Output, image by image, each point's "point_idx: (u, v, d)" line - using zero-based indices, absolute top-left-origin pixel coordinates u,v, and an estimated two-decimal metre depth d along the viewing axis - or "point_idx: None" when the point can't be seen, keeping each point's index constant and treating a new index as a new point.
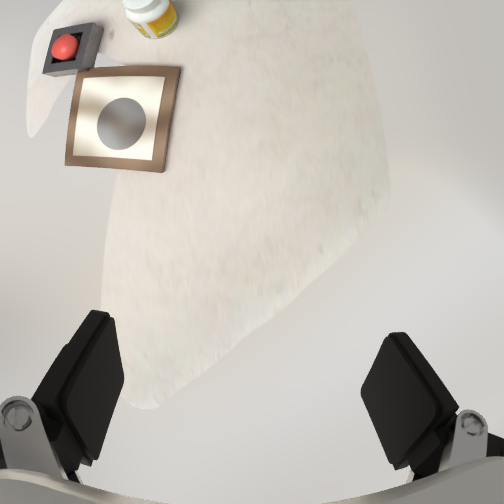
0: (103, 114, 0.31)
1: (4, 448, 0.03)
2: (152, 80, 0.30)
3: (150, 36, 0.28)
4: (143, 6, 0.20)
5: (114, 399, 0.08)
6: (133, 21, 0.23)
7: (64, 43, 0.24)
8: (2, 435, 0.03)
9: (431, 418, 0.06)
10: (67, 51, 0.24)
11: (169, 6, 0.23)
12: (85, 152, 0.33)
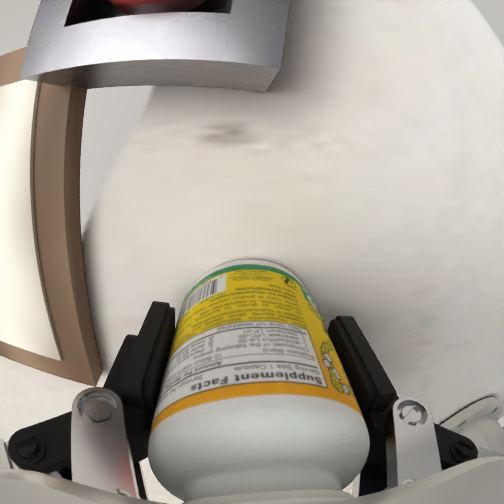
0: None
1: (73, 435, 0.04)
2: (47, 329, 0.10)
3: None
4: None
5: None
6: (152, 443, 0.05)
7: None
8: (74, 421, 0.05)
9: (366, 402, 0.07)
10: None
11: None
12: None
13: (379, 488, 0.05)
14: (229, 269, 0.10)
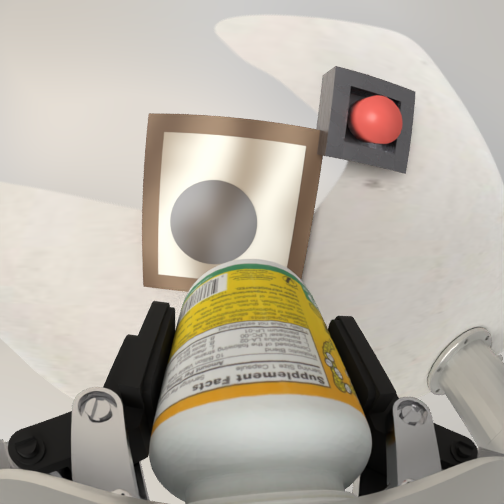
0: (231, 191, 0.22)
1: (73, 435, 0.04)
2: None
3: None
4: None
5: None
6: (153, 443, 0.05)
7: (384, 125, 0.18)
8: (74, 421, 0.05)
9: (366, 402, 0.07)
10: (367, 133, 0.18)
11: None
12: (167, 158, 0.21)
13: (379, 488, 0.05)
14: (230, 268, 0.10)
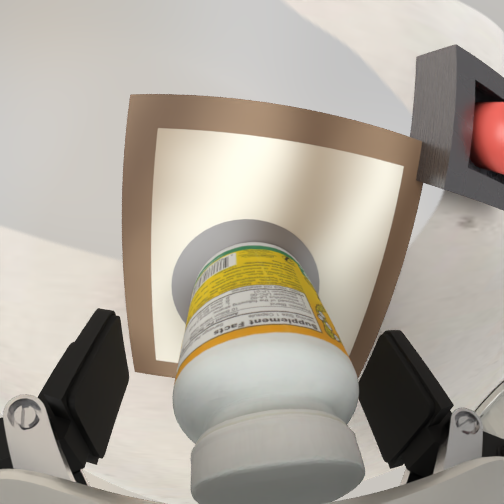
0: (280, 240, 0.13)
1: (10, 446, 0.03)
2: None
3: None
4: None
5: (119, 397, 0.08)
6: (179, 384, 0.07)
7: None
8: (8, 433, 0.03)
9: (425, 416, 0.06)
10: (503, 160, 0.08)
11: None
12: (164, 177, 0.12)
13: None
14: (238, 249, 0.12)
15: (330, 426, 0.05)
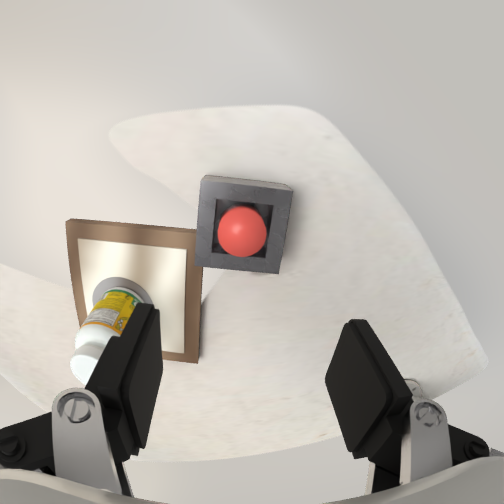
0: (131, 286, 0.26)
1: (54, 437, 0.04)
2: (180, 340, 0.29)
3: None
4: None
5: (156, 389, 0.09)
6: (75, 337, 0.20)
7: (245, 239, 0.22)
8: (55, 423, 0.04)
9: None
10: (226, 249, 0.22)
11: None
12: (83, 258, 0.25)
13: None
14: (110, 291, 0.25)
15: (100, 351, 0.19)
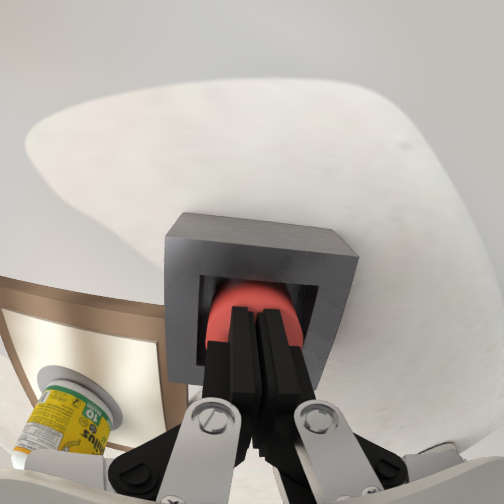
0: (82, 380, 0.15)
1: (178, 441, 0.05)
2: None
3: None
4: None
5: None
6: (12, 457, 0.09)
7: None
8: (182, 427, 0.05)
9: None
10: None
11: None
12: (14, 335, 0.14)
13: (312, 495, 0.05)
14: (53, 387, 0.14)
15: None
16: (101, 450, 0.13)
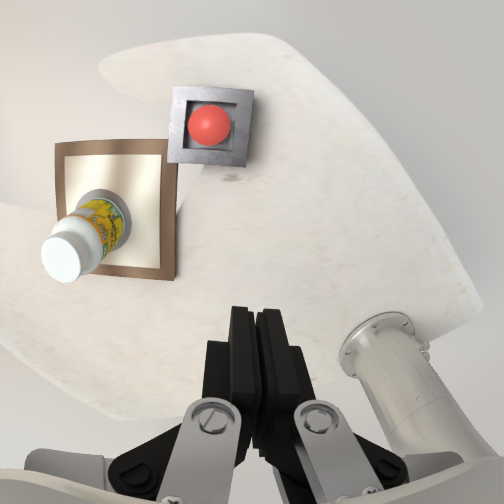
0: (110, 196, 0.27)
1: (178, 441, 0.05)
2: (155, 253, 0.30)
3: None
4: (45, 268, 0.19)
5: None
6: None
7: (212, 129, 0.23)
8: (182, 427, 0.05)
9: None
10: (195, 139, 0.23)
11: None
12: (68, 175, 0.25)
13: (312, 495, 0.05)
14: (91, 200, 0.26)
15: (70, 235, 0.19)
16: (115, 234, 0.25)
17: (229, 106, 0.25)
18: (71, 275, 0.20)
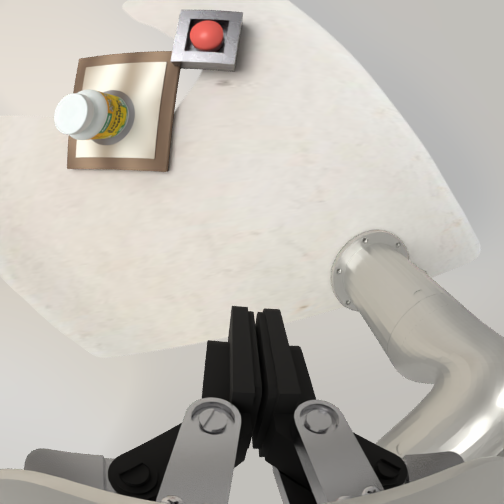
0: (119, 95, 0.28)
1: (178, 441, 0.05)
2: (152, 145, 0.31)
3: None
4: (55, 122, 0.20)
5: None
6: None
7: (208, 36, 0.25)
8: (182, 427, 0.05)
9: None
10: (195, 43, 0.25)
11: None
12: (86, 82, 0.27)
13: (312, 495, 0.05)
14: None
15: (84, 95, 0.21)
16: (119, 116, 0.26)
17: (224, 28, 0.27)
18: (76, 125, 0.21)
